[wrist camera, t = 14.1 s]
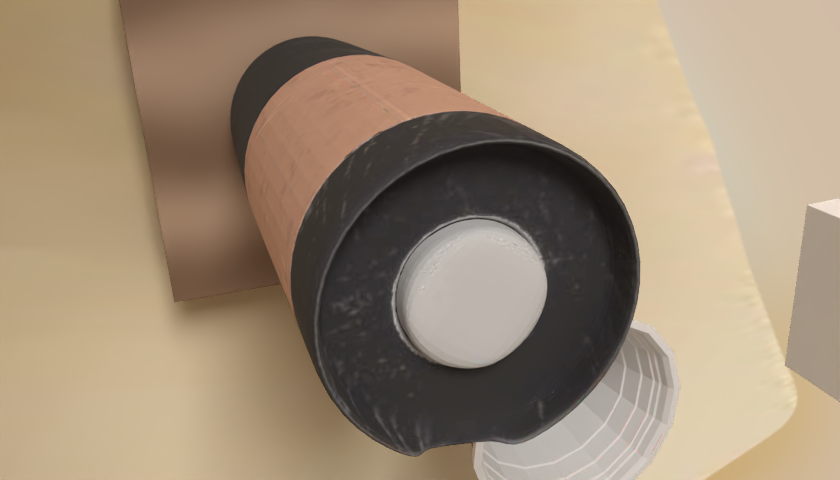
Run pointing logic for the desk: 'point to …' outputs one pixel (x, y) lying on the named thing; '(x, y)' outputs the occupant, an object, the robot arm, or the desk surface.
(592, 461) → the plastic cup
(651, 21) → the desk surface
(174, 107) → the walnut stand
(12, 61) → the desk surface
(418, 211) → the travel mug
